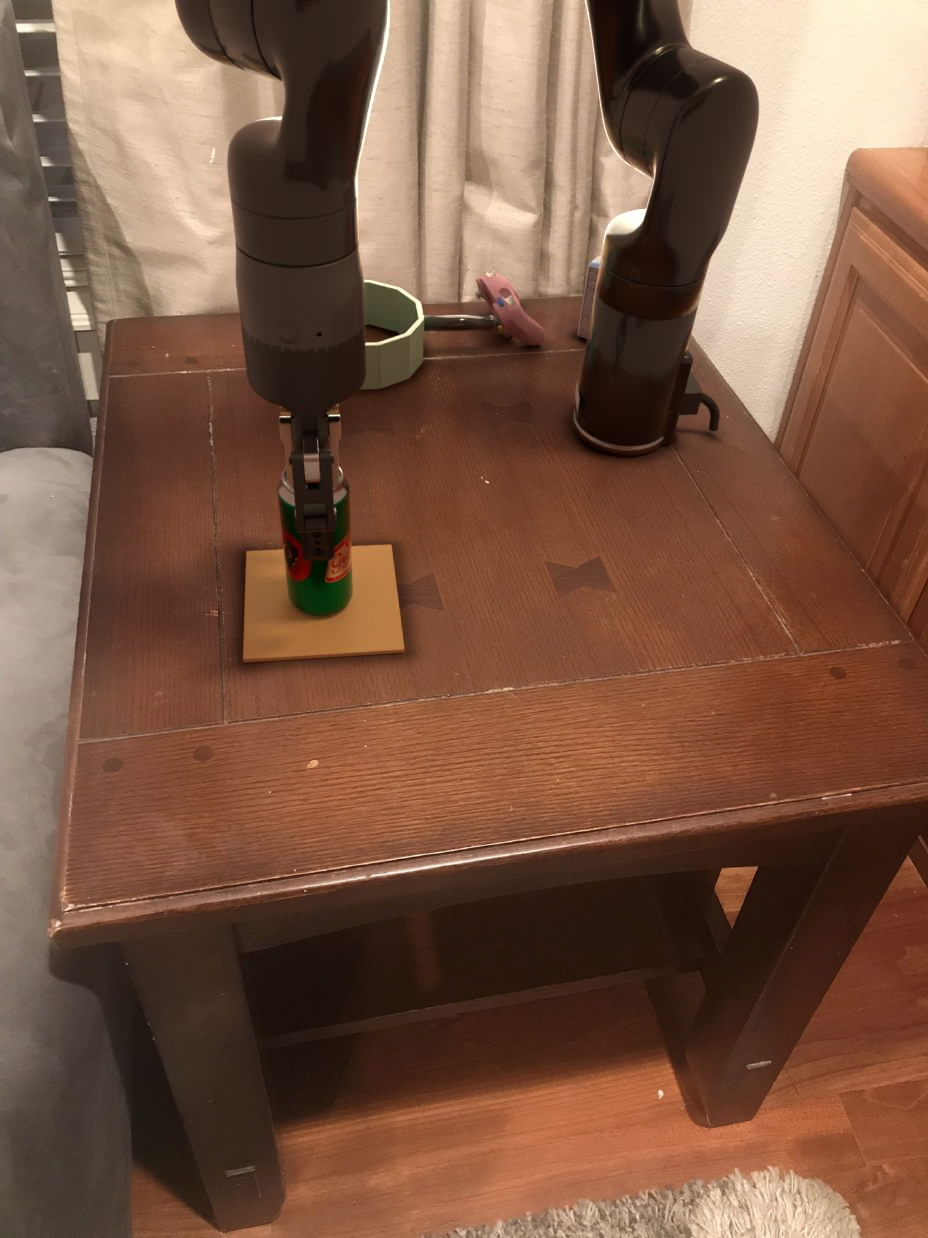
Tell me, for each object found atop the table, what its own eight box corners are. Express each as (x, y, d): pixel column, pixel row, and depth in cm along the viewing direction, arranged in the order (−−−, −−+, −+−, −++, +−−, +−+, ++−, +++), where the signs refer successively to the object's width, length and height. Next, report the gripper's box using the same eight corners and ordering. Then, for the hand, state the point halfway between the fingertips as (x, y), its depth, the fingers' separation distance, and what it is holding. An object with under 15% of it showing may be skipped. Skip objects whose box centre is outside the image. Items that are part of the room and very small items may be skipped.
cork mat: (391, 547, 80) (391, 544, 80) (404, 652, 72) (404, 649, 72) (246, 554, 79) (246, 550, 79) (243, 662, 71) (242, 659, 70)
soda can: (342, 625, 73) (336, 504, 65) (279, 613, 74) (265, 491, 65) (360, 581, 77) (357, 460, 68) (300, 570, 77) (289, 448, 69)
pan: (485, 320, 108) (488, 278, 105) (504, 386, 99) (509, 342, 95) (292, 322, 105) (289, 280, 102) (294, 391, 96) (290, 346, 92)
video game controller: (485, 319, 111) (463, 270, 106) (519, 299, 111) (499, 249, 106) (513, 363, 105) (491, 314, 100) (550, 343, 104) (529, 292, 99)
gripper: (373, 374, 53) (375, 582, 65) (357, 257, 63) (362, 457, 75) (236, 377, 52) (263, 588, 64) (242, 258, 62) (265, 460, 74)
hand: (316, 517), depth 69 cm, fingers open, 8 cm apart
